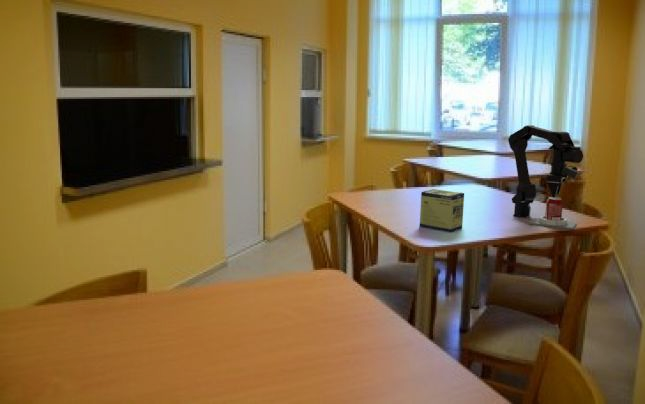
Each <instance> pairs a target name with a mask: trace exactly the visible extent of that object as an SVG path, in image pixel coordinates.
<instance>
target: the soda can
mask: <svg viewBox="0 0 645 404" xmlns="http://www.w3.org/2000/svg"><path fill="white" fill-rule="evenodd" d="M562 199H563V198H561V197H559V196H555V197H552V196H548V199H547V200H546V201H545V202H546V205H545V214H544V216H545V219H547V220H556V221H557V220H561V218H562V217H563V216H562V215H563V205H564V202H563V200H562Z"/></svg>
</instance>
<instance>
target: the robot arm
mask: <svg viewBox="0 0 645 404" xmlns="http://www.w3.org/2000/svg"><path fill="white" fill-rule="evenodd" d="M532 137H537V138H541V139H544V140H547V141H548V143H550V144H552V145H551V146H549V147H548V150H549V151H550V150H552V152H551V153H552V156H551V163H550V172H549V174H548V175H547V176H546V177H545V178H546V179H545V182H546V183H547V186H548V188H549V191H550V194H551V197H557V195H560V192H561V188H562V187H563V186H562V185H563V183H564V182H566V181H567V180H568V178H569V177H570V178H571V179H573V180H576V179H577V177H578V175H579V173H580V171H579V170H578V167H577V166H576V165H575V166H572V167H569V166H568V163H574V164H579V163H581V162H582V161H583V159H584V153H583V151H582V150H581V147H580V146H575V144H574V142H573V140H572V138H571V135H570V133H569V132H567V131H553V130H549V129H545V128H542V127H538V126H535V125H533V124H532V125H524V126H523V127H522V128H521V129H518V130H517V131H515V132H514V133H511V134H510V135H509V137H508V141H507V142H508V145H509V148H510V149H511V151H512V152H513V153H514V158H515V166H516V173H517V178H518V184H517V186H516V193H515V195H514V196H513V197H512V198H511V202H512V203H513V204H514V211H513V215H512V216H513V217H519V218H528V217H530V215H531V209H532V208H531V207H532V206H531V204H534V203H533V202H534V200H535V199H536V197H537V193H538V192H537V189H536V188H537V187H536V184H535V183H532V181H531V180H530V172H529V167H528V166H529V165H528V160H527V155H526V151H527V148H528V145H529V143H528V141H530V140H531V139H532Z"/></svg>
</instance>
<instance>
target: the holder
mask: <svg viewBox="0 0 645 404" xmlns="http://www.w3.org/2000/svg"><path fill="white" fill-rule="evenodd" d="M528 224H529V225H532V226H540V227H547V228H555V229H556V228H557V229H564V230H572V231H573V230H574V228H575V227H576V226H577V222H574V221H568V218H567V217H564V216H562V218H561V220H557V221H556V220H547V219H545V215H541V216H539V217H534V218H532V220H531V221H530V222H529V223H528Z"/></svg>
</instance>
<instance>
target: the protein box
mask: <svg viewBox="0 0 645 404" xmlns="http://www.w3.org/2000/svg"><path fill="white" fill-rule="evenodd" d="M464 201H465V192H457V191H449V190H442V189H429V190H424V191H421V194H420V213H419V215H420V217H419V228H425V229H429V228H430V230H435V231H441V232H446V233H453V232H456V231H458V230H462V229H463V223H464V222H463V219H464Z"/></svg>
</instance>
